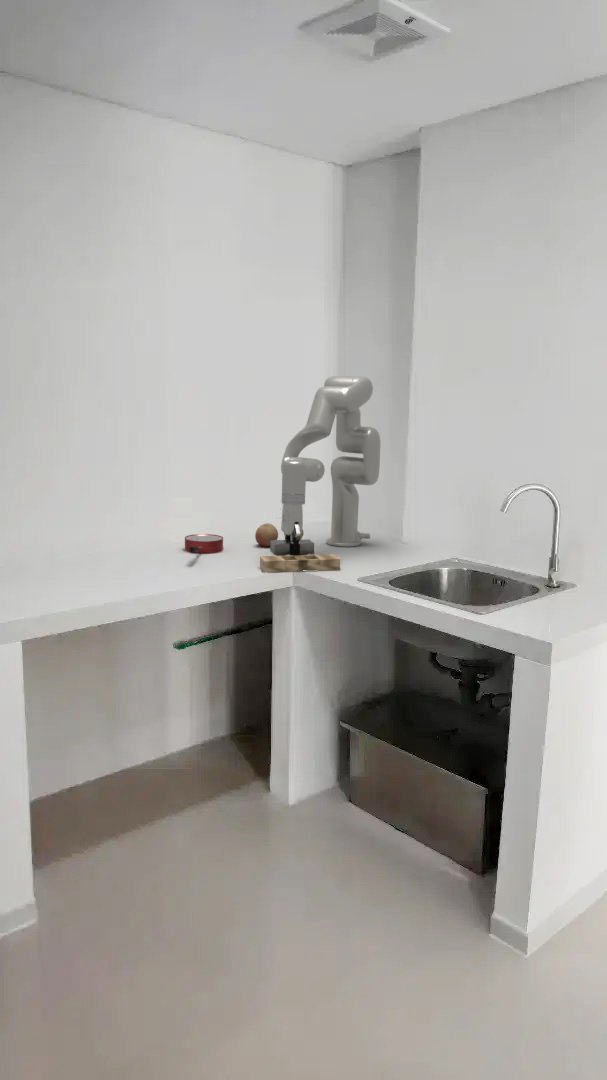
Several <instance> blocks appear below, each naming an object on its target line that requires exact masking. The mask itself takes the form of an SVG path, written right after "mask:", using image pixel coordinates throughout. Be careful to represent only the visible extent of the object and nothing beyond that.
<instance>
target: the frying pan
mask: <svg viewBox="0 0 607 1080" xmlns="http://www.w3.org/2000/svg"><path fill="white" fill-rule="evenodd" d="M223 550H224V536H221V535H219V534H209V533H199V534H198V533H197V534H189V535H186V536H185V537H184V551H186V552H187V553H190V554H191V553H192V554H197V555H198V554H202V555H203V554H206V555H207V554H217V553H220V552H222V551H223Z"/></svg>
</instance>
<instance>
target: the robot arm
mask: <svg viewBox="0 0 607 1080" xmlns="http://www.w3.org/2000/svg"><path fill="white" fill-rule="evenodd" d="M373 391H374V386H373V383H372V381H371V379H370V378H368V377H365V376H350V375H348V376H346V375H345V376H344V375H334V376H330V377H328V378H326V379H325V381H324V383H323V386H322V387H319V388H318V389H317V391H316V392H315V395H314V397H313V401H312V405H311V406H310V407H311V408H310V411H309V414H308V417H307V420H306V424H305V426H304V427H303V428H302V429H301V430H300V431H298V432H297V433H296V434H295V435H294V436H293V437H292V439H291V440H289V442H288V443H287V444H286V447H285V450H284V453H283V456H282V460H281V465H280V471H281V504H282V511H281V526H280V528H281V531H282V532H283V534H284V533H285V535H284V540H286V539H287V540H291V544H290V555H300V535H301V534H302V529H303V523H304V522H303V517H304V515H303V505H306V483H307V482H311V483H313V482H314V483H315V482H318V481H320V480H321V479H322V478H323V477H324V476H325V470H326V469H325V465H324V463H323V461H321V460H319V459H318V458H311V457H309V458H308V457H302V456H301V457H299V455H300V453H301V452H302V451H303V450H304V449H305V448H306V447H308V446H310V445H311V444H314V443H317V442H319V441H321V440H323V439H325V438H326V439H327V437H329V436H330V435H331V432H332V428H333V425H334V422H336V423H335V445H336V448H337V450H338V451H339V452H341V453H347V454H359V455H362V456H363V457H357V456H346V455H344V456H339V457H338V456H337V457H335V458H334V459H333V460H332V462H331V463H330V477H331V483H332V498H331V499H332V500H331V504H332V505H331V525H330V527H331V528H330V529H331V531H330V538H329V537H328V538H327V539H326V544H327V545H330V546H335V547H343V548H344V547H345V548H346V547H348V548H349V547H358V546H361V545H362V539H368V540H369V539H371V534H370V532H369V533H365V532H360V531H358V527H359V526H358V525H359V524H358V522H359V506H360V505H359V504H360V503H359V502H360V496H359V492H358V489H357V487H356V485H359V486H361V485H362V486H372V485H375V484H376V483H377V482H378V479H379V475H380V464H381V463H380V461H381V435H380V432H379V431H378V430H377V429H376V428H375V427H372V426H362V423H361V410H360V408H361V407H362V406H364V405H365V404H366V403H367V402H368V401H370V399H371V397H372V395H373ZM335 419H336V420H335ZM294 533H295V534H294Z"/></svg>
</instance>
